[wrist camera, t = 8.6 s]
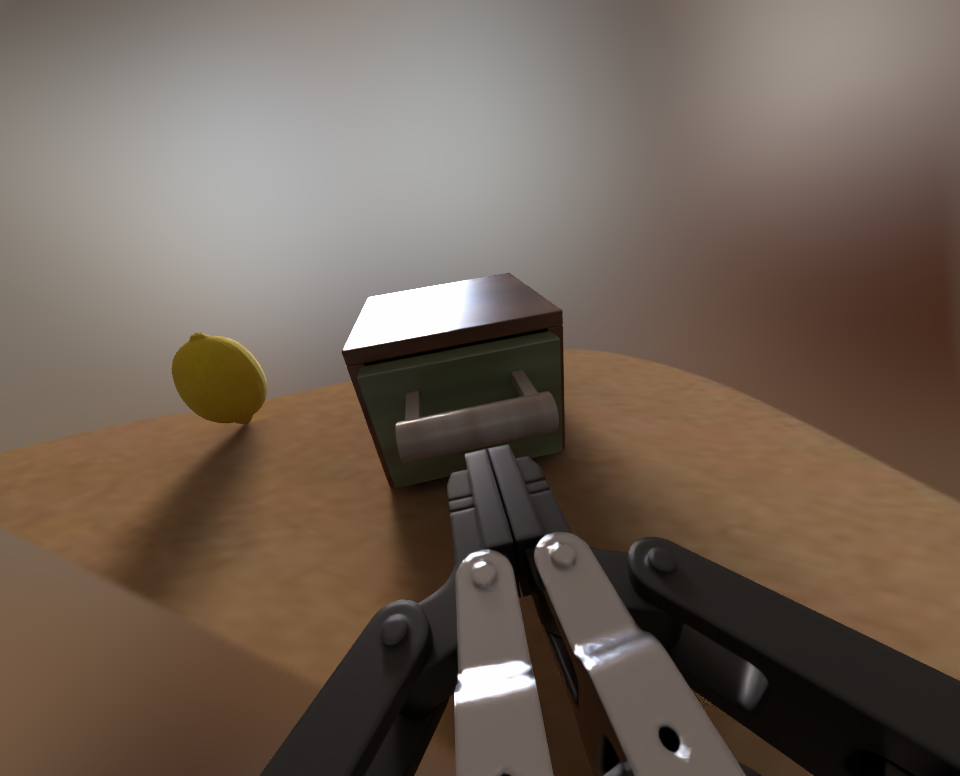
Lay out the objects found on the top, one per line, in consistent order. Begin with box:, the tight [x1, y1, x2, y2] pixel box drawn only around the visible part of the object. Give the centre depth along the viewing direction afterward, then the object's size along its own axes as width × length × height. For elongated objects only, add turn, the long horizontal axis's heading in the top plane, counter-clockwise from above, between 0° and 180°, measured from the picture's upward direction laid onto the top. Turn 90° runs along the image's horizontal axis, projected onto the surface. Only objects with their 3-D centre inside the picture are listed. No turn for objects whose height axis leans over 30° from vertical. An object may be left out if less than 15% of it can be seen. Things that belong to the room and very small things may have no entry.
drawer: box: [357, 331, 562, 488], centre depth 20 cm, size 14×9×7 cm
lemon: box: [172, 333, 267, 424], centre depth 27 cm, size 6×6×8 cm
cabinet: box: [342, 273, 565, 487], centre depth 23 cm, size 11×11×9 cm
